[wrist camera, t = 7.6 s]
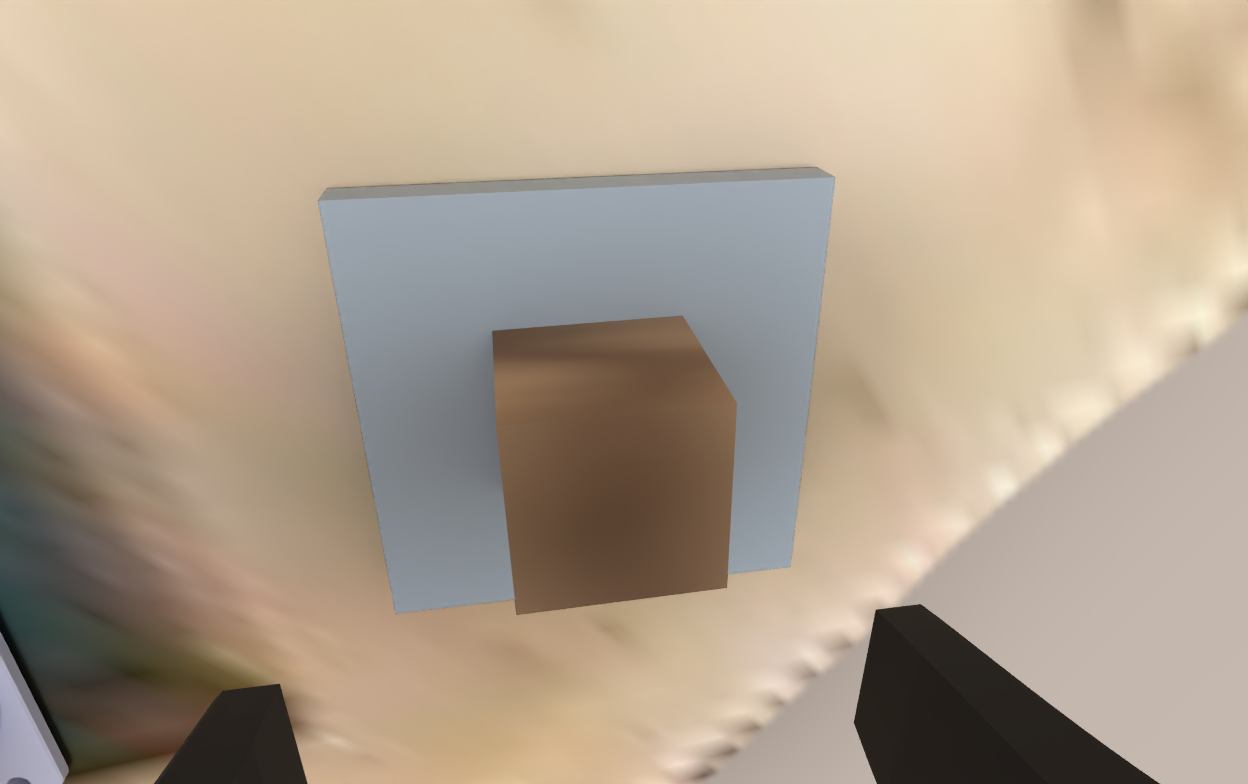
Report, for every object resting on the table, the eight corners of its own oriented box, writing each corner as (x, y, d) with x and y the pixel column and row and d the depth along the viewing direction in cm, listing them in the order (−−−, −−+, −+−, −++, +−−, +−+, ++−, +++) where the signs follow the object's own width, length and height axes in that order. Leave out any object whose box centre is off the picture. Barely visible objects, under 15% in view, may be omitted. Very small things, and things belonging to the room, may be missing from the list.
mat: (398, 586, 20) (395, 613, 19) (327, 188, 15) (318, 200, 14) (777, 542, 21) (790, 566, 20) (816, 167, 17) (834, 177, 16)
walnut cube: (509, 492, 18) (516, 614, 14) (492, 330, 16) (496, 426, 13) (679, 473, 18) (727, 587, 15) (682, 315, 17) (736, 403, 13)
